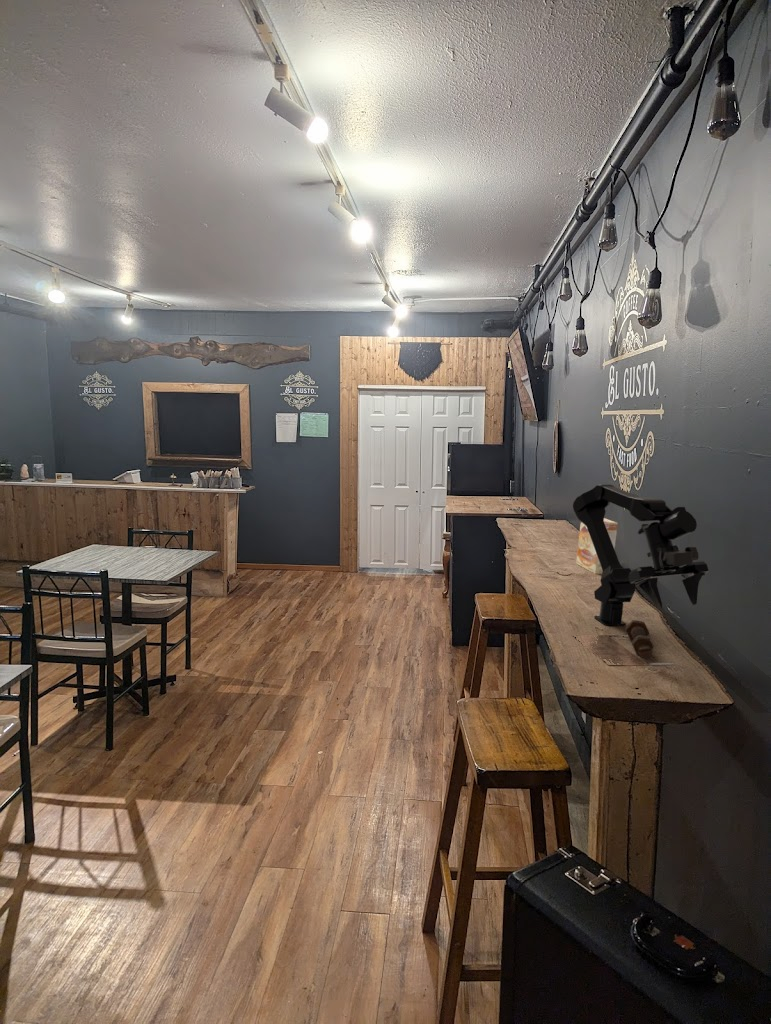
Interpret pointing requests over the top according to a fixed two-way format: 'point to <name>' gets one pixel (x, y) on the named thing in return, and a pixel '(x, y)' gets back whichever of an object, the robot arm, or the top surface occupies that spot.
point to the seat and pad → (613, 650)
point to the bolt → (640, 638)
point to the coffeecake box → (586, 548)
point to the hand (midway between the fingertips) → (677, 606)
